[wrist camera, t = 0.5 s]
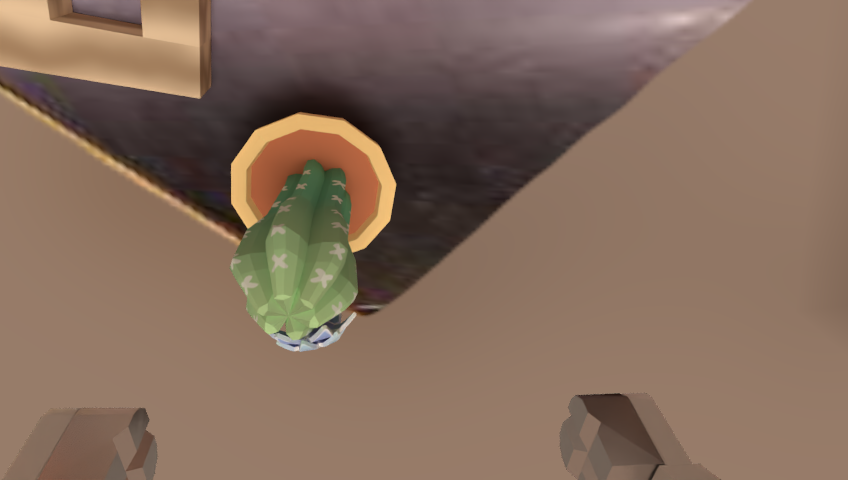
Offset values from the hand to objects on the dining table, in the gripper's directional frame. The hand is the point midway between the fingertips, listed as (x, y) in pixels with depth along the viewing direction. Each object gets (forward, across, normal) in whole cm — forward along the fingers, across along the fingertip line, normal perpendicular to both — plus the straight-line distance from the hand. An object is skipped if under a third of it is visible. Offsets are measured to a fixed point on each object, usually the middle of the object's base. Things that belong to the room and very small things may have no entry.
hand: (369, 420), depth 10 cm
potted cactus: (+45, +4, +15) cm, 48 cm away
